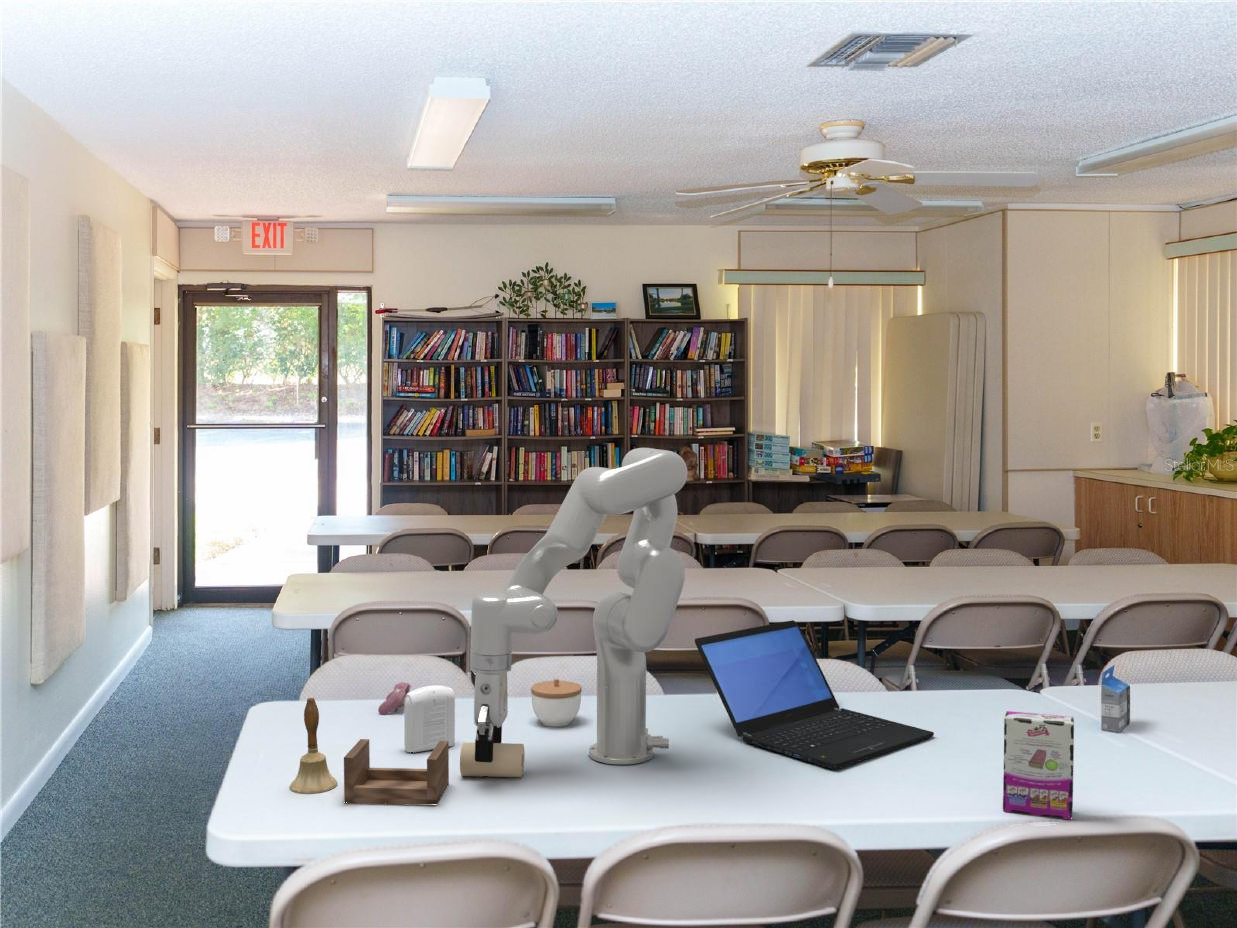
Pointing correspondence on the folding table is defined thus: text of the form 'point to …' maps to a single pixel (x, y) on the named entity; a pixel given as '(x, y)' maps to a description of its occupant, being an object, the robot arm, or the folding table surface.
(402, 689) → the pink rounded lump
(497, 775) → the paper roll
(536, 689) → the lidded jar
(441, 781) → the roll cradle
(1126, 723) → the label tape box
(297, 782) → the hand bell
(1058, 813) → the candy bar box
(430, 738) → the photo printer
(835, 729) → the laptop
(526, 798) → the folding table surface
